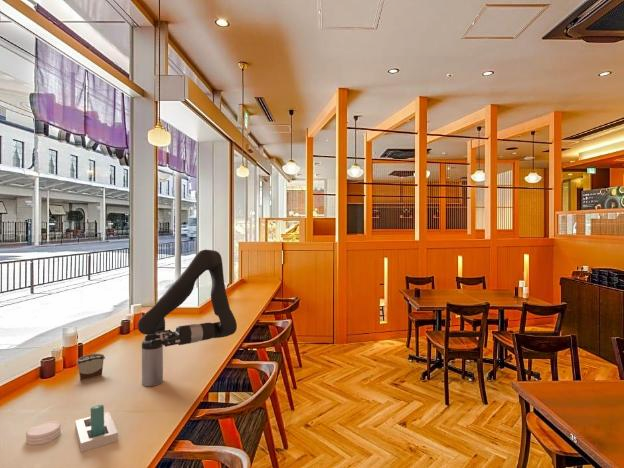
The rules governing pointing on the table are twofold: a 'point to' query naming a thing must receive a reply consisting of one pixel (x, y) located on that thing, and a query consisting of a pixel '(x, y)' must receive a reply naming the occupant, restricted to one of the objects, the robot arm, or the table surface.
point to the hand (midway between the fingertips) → (147, 341)
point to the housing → (90, 443)
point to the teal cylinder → (97, 421)
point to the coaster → (43, 433)
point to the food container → (90, 366)
